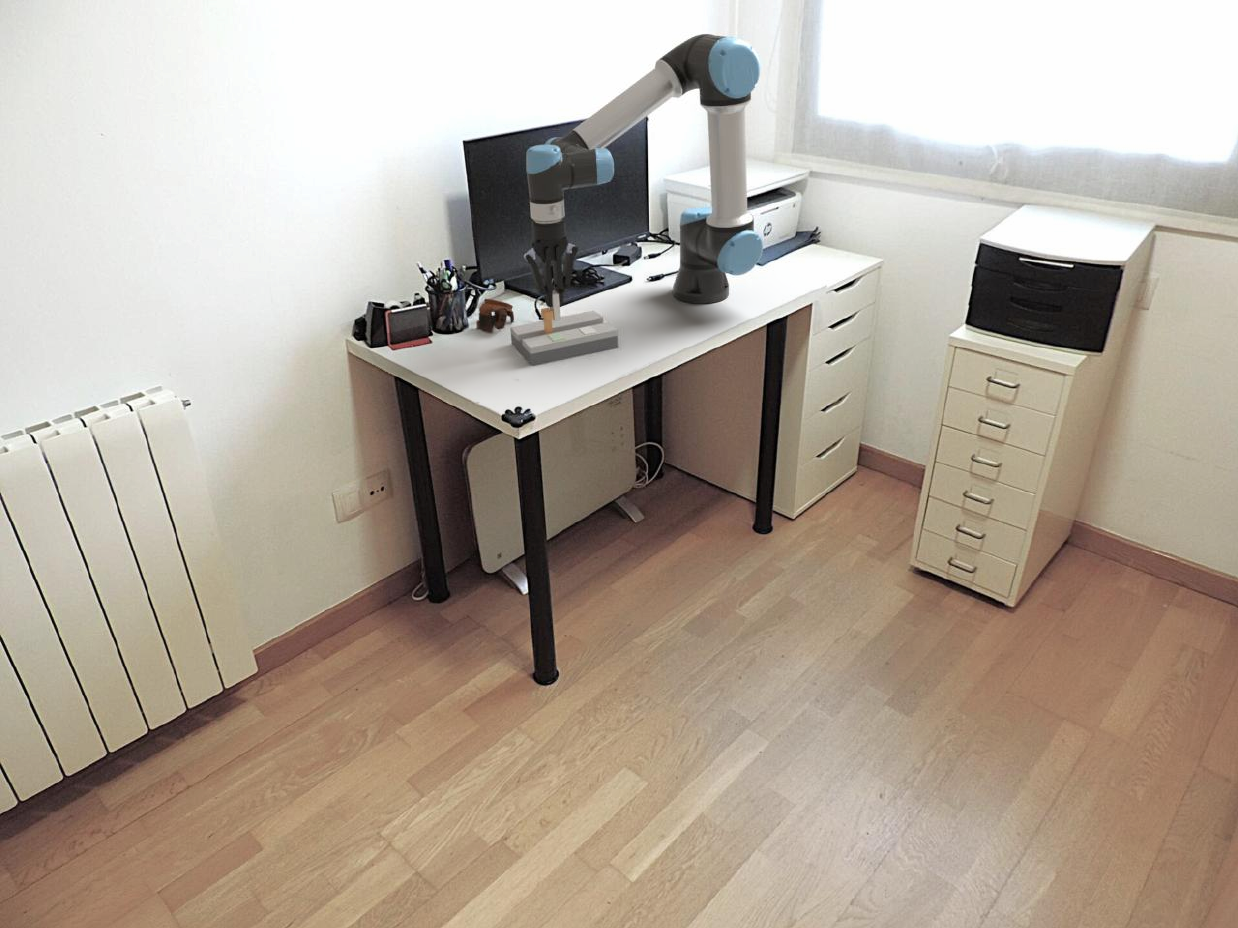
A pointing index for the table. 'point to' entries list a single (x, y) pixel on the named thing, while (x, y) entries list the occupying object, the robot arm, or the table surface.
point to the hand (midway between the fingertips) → (555, 318)
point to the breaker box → (564, 338)
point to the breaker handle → (547, 320)
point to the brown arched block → (497, 320)
